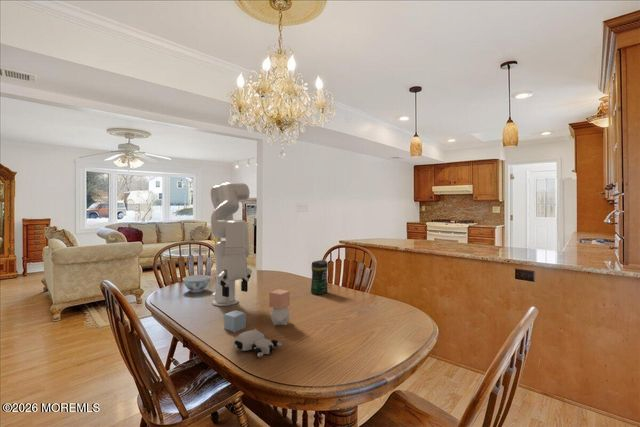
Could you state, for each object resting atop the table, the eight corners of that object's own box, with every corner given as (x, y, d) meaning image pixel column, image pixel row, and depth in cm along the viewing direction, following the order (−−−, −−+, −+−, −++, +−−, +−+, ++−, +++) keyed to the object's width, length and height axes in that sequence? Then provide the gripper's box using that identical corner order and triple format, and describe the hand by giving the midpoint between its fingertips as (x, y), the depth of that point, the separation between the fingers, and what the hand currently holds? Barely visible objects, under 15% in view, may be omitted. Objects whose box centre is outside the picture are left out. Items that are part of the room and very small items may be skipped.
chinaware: (178, 290, 184) (178, 277, 184) (204, 286, 194) (204, 273, 194) (188, 296, 173) (188, 282, 173) (214, 291, 183) (214, 278, 183)
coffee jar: (319, 295, 176) (319, 262, 175) (308, 293, 180) (308, 260, 180) (330, 292, 183) (330, 260, 183) (319, 289, 188) (319, 258, 188)
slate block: (224, 328, 128) (224, 314, 128) (235, 324, 133) (235, 310, 133) (234, 332, 125) (234, 317, 125) (245, 327, 130) (245, 313, 129)
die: (281, 331, 128) (294, 309, 131) (263, 319, 129) (277, 298, 132) (283, 330, 136) (295, 310, 138) (266, 319, 137) (279, 299, 140)
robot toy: (283, 351, 111) (253, 337, 119) (284, 338, 111) (253, 326, 119) (258, 365, 101) (227, 350, 109) (259, 352, 100) (227, 337, 109)
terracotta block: (269, 306, 133) (269, 292, 132) (278, 302, 138) (278, 289, 137) (280, 309, 129) (280, 294, 129) (289, 305, 134) (289, 291, 134)
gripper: (244, 248, 137) (244, 288, 137) (211, 253, 123) (211, 297, 123) (257, 249, 133) (257, 290, 133) (224, 254, 119) (224, 300, 119)
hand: (235, 293), depth 128 cm, fingers open, 9 cm apart
